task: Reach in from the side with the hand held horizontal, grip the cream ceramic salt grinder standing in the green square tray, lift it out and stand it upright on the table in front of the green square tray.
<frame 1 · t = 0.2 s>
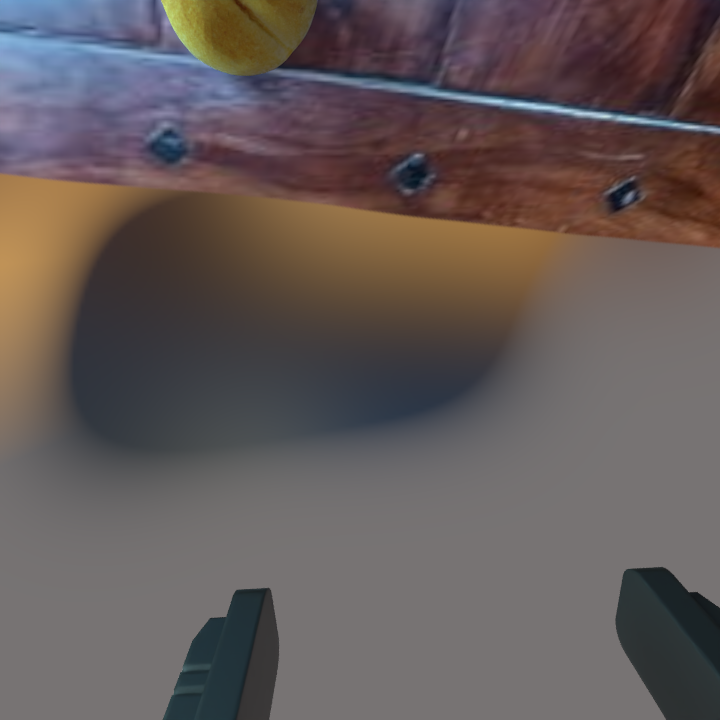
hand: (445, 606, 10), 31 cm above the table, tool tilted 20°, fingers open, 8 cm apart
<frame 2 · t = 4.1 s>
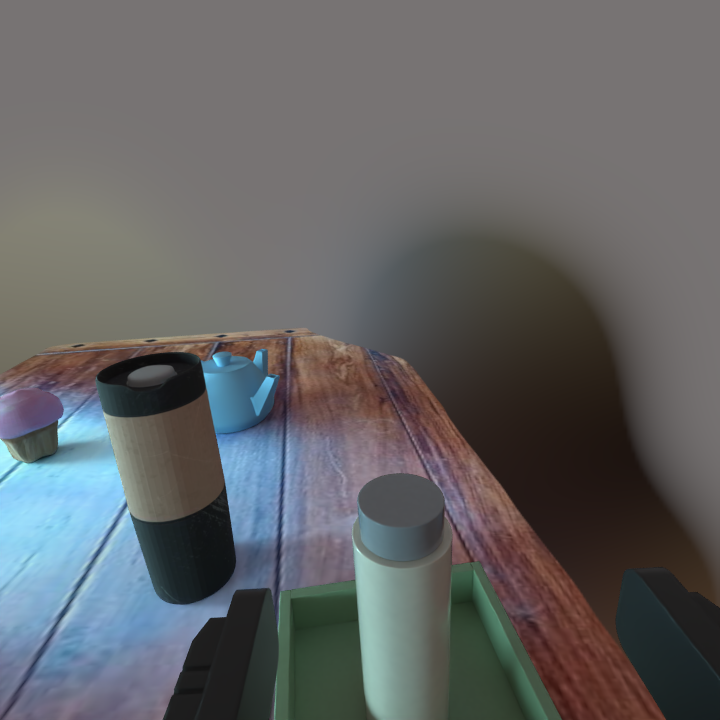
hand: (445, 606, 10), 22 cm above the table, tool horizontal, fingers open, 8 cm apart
green square tray: (407, 719, 27), on the table
cupcake: (38, 457, 62), on the table
salt grinder: (407, 712, 27), point 1 cm above the table, touching green square tray
teapot: (233, 418, 71), on the table
travel mug: (196, 573, 40), on the table
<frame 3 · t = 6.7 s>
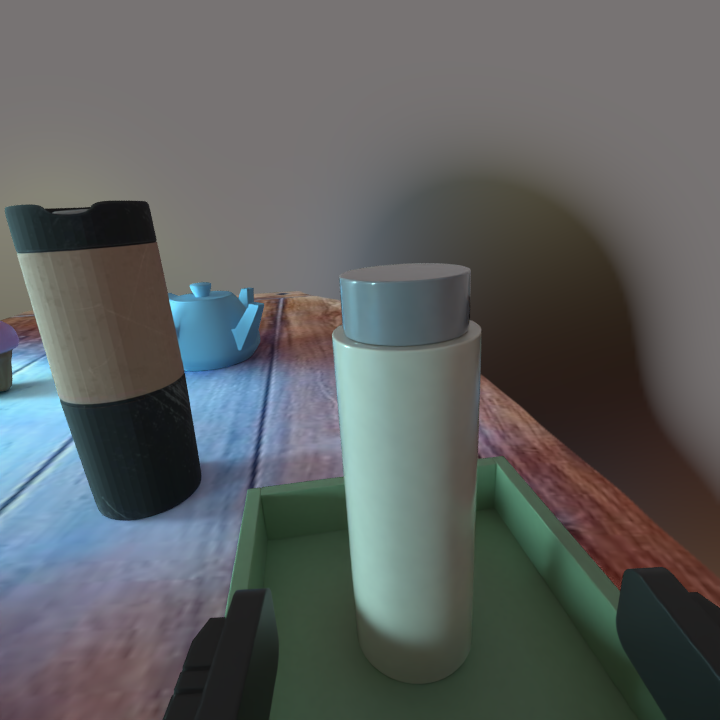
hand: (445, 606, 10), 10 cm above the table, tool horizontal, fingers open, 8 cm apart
green square tray: (413, 636, 20), on the table
salt grinder: (413, 626, 20), point 1 cm above the table, touching green square tray
teapot: (214, 359, 63), on the table
travel mug: (152, 491, 33), on the table
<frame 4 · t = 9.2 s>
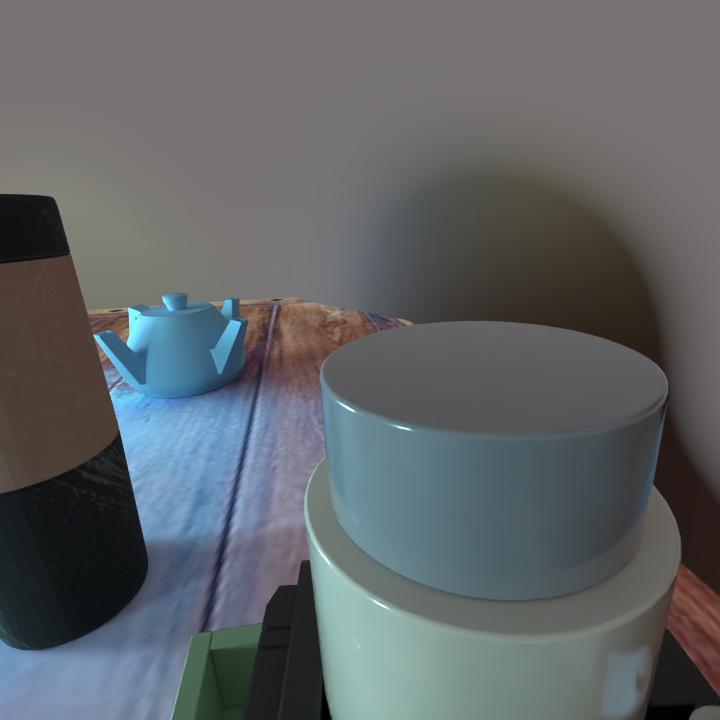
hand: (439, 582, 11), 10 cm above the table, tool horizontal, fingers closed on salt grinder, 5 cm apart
teapot: (192, 381, 54), on the table
travel mug: (79, 592, 24), on the table
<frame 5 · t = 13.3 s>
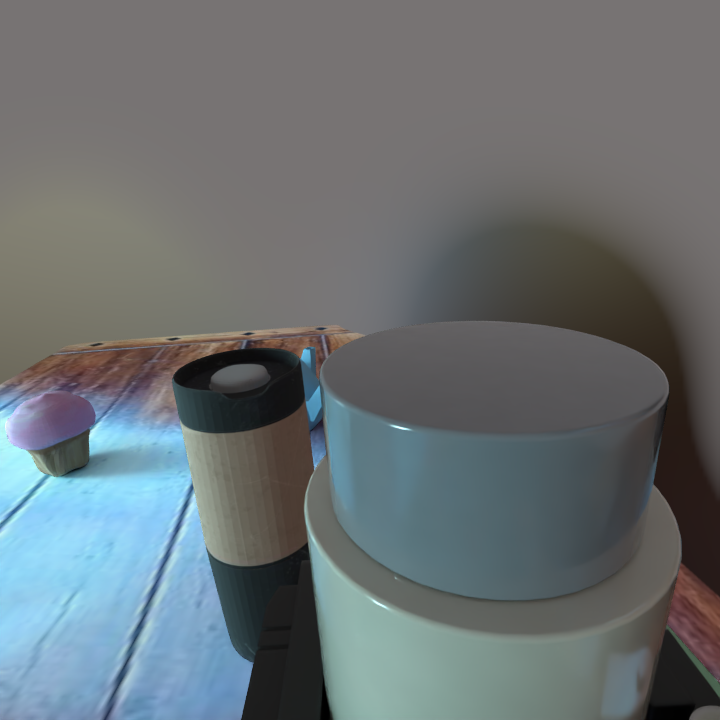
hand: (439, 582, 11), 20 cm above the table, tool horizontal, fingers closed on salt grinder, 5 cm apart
cupcake: (67, 469, 55), on the table
teapot: (281, 423, 63), on the table
travel mug: (279, 620, 32), on the table
when the fingers open (9 cm above the table, at t = 17.5 s): salt grinder stays where it is, on the table.
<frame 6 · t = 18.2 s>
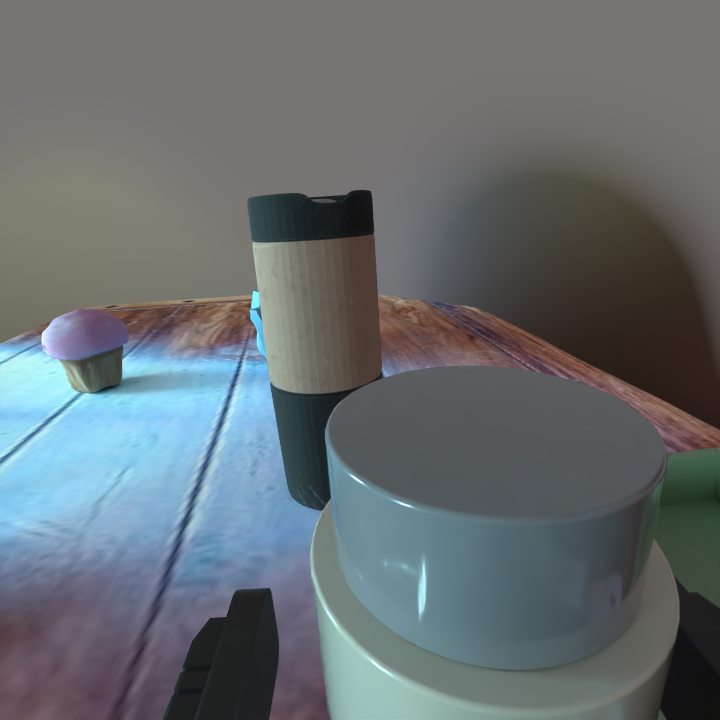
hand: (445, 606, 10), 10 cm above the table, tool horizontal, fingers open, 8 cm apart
green square tray: (710, 622, 20), on the table
cupcake: (100, 389, 55), on the table
teapot: (309, 354, 63), on the table
travel mug: (336, 482, 33), on the table
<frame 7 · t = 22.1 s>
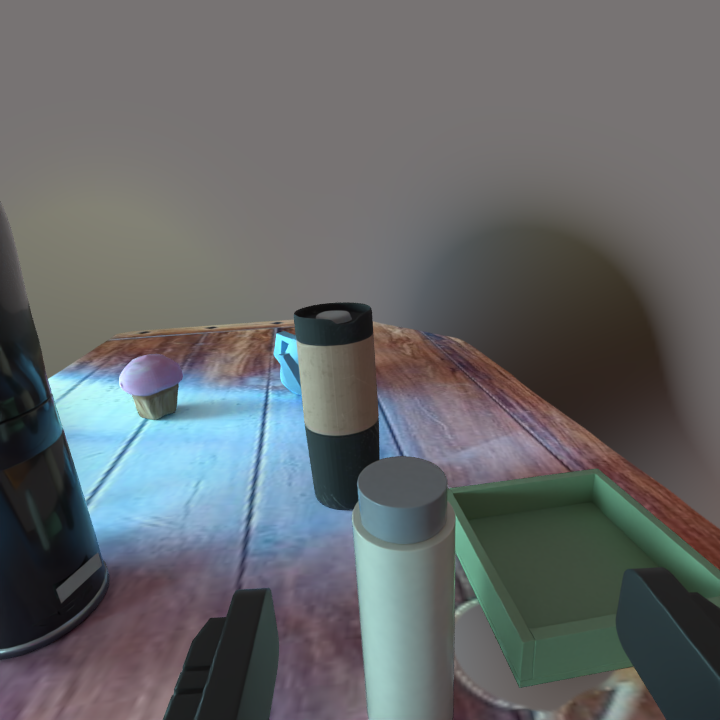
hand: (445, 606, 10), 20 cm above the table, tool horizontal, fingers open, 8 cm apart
green square tray: (564, 573, 35), on the table
cupcake: (160, 416, 70), on the table
salt grinder: (409, 706, 26), on the table
teapot: (322, 385, 78), on the table
travel mug: (347, 491, 48), on the table
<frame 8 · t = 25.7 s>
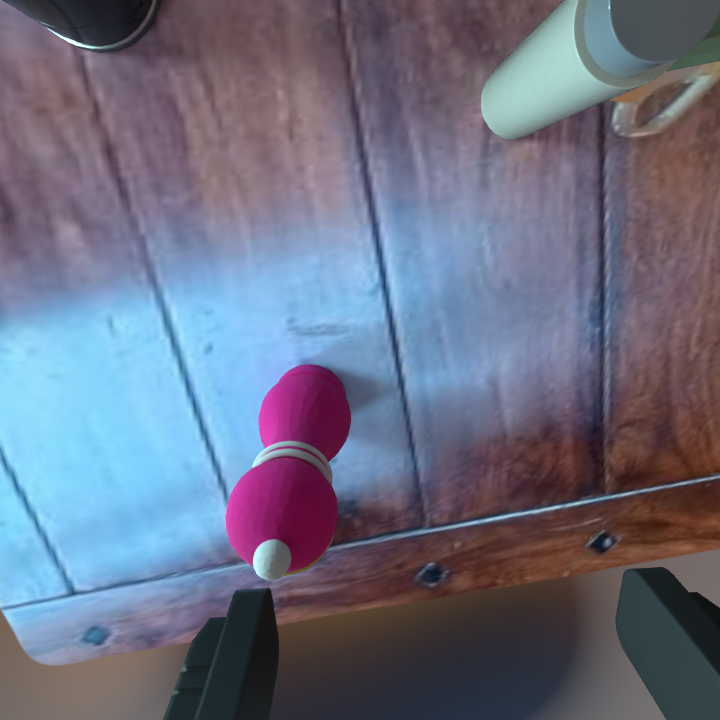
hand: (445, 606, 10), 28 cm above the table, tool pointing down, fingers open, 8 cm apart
salt grinder: (516, 99, 31), on the table
pepper mill: (310, 396, 39), on the table
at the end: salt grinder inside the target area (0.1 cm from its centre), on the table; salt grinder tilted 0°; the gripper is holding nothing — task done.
